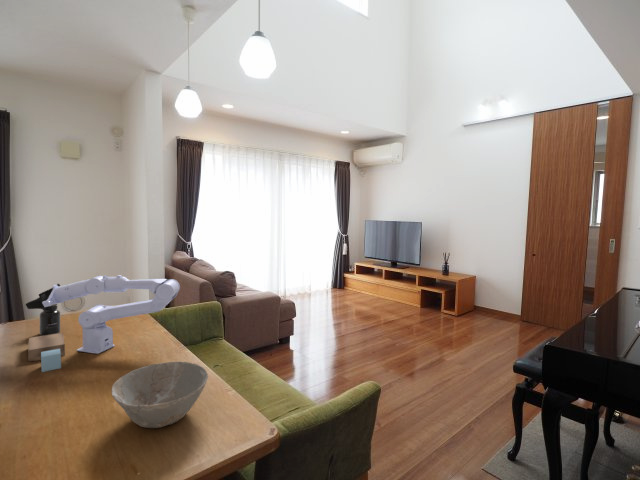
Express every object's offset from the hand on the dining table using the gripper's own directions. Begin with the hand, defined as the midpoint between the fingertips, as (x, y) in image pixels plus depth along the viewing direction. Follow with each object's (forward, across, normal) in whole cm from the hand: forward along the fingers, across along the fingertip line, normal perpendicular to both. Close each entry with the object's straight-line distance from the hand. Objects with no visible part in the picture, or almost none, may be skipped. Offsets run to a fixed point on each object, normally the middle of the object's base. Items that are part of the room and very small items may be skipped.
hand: (33, 301), depth 125 cm
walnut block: (0, +6, +18) cm, 19 cm away
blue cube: (-9, +20, +18) cm, 28 cm away
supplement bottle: (+10, -14, +19) cm, 26 cm away
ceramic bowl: (-51, +53, +24) cm, 77 cm away
